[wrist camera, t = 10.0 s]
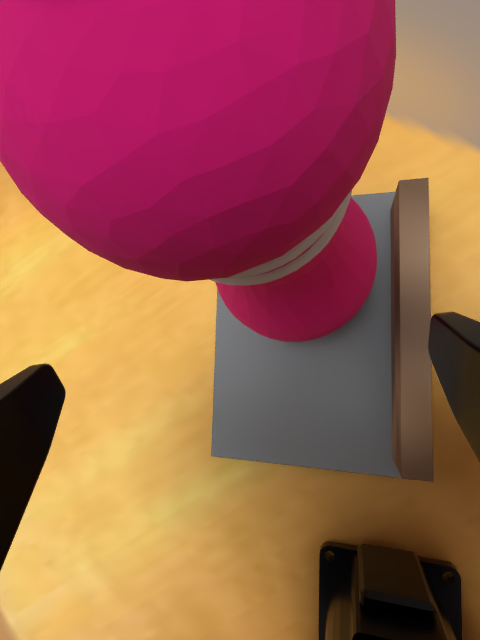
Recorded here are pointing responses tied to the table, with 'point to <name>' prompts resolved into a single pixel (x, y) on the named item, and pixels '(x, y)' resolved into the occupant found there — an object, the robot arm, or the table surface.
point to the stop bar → (411, 331)
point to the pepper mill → (206, 142)
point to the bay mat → (312, 382)
